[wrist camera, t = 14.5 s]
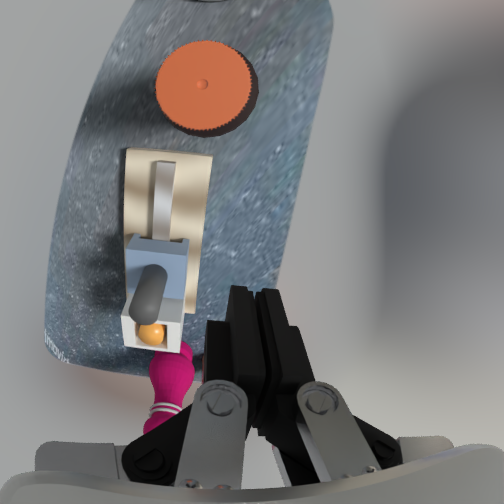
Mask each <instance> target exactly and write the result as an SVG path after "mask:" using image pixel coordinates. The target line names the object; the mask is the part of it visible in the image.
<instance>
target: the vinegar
mask: <svg viewBox="0 0 504 504" xmlns="http://www.w3.org/2000/svg"><path fill="white" fill-rule="evenodd" d="M174 51H175V52H174V53H172V52H171V55H170V56H169V55H168V58H167V59H166V58H165V59H166V60H165V62H163V65H160V66H162V67H161V68H160V69H159V72H157V73H158V76H156V77H157V80H155V81H156V84H154V85H156V88H154V89H156V92H155V93H156V94H157V95H156V96H155V97H157V100H158V104H159V106H160V108H161V111H162V112H163V114H164V116H165V118H166V119H167V120H168V121H169V122H170V123H171V124H172V125H173V126H174V127H175V128H177V129H178V130H180V131H182V132H184V133H186V134H188V135H192V136H198V137H203V138H206V137H215V136H221V135H223V134H226V133H228V132H230V131H233V130H235V129H236V128H237V127H238V126H240V125H241V124H242V123H243V122H244V121H246V120H247V118H248V117H249V115H250V114H251V112H252V111H253V109H254V108H255V105H256V101H257V97H258V93H259V90H258V77H257V75H256V73H255V70H254V68H253V66H252V64H251V63H250V62H249V60H248V59H247V58H246V57H245V56H244V55H243V54H242V53H241V52H239V51H237V50H235V49H233V48H232V47H230V46H228V45H224V43H223V44H222V43H220V42H219V43H216V41H215V42H212V40H211V41H208V40H206V41H203V40H202V41H201V42H199V40H198V42H195V41H194V42H193V43H191V42H190V44H188V45H187V44H186V45H185V46H183V45H182V47H181V48H179V47H178V49H177V50H174Z"/></svg>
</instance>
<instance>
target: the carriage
mask: <svg viewBox="0 0 504 504" xmlns="http://www.w3.org/2000/svg"><path fill="white" fill-rule="evenodd" d="M189 242H190V239H183V242H182V243H178V242H168V241H159V240H150V239H141V234H136V233H134V235H133V237H132V239H131V240H130V242H129V244H128V245H127V247H126V277H127V293H133V294H134V296H133V298H132V301H131V304H130V306H129V310H128V312H129V316H130V317H131V319H132V320H133V321H135V322H136V323H138V324H141V325H151V324H154V323H155V322H156V321H157V319H158V315H159V311H160V306H161V302H162V298H163V297H165V298H173V299H182V300H183V299H184V292H185V286H186V278H187V265H188V253H189Z"/></svg>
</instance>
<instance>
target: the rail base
mask: <svg viewBox="0 0 504 504" xmlns="http://www.w3.org/2000/svg"><path fill="white" fill-rule="evenodd" d="M212 158H213V155H211V154H202V153H193V152H184V151H173V150H162V149H149V148H135V147H130V148H128V149H127V152H126V167H125V189H124V260H125V282H126V298H128V296H129V293H127V277H126V247H127V245H128V244H129V242H130V240H131V239H132V237H133V235H134V233H136V234H141V239H150V240H159V241H168V242H178V243H182V242H183V239H190V242H189V253H188V265H187V278H186V295H185V311H184V313H192V314H195V306H196V295H197V284H198V273H199V263H200V254H201V244H202V236H203V227H204V218H205V210H206V202H207V195H208V187H209V180H210V172H211V165H212Z"/></svg>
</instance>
